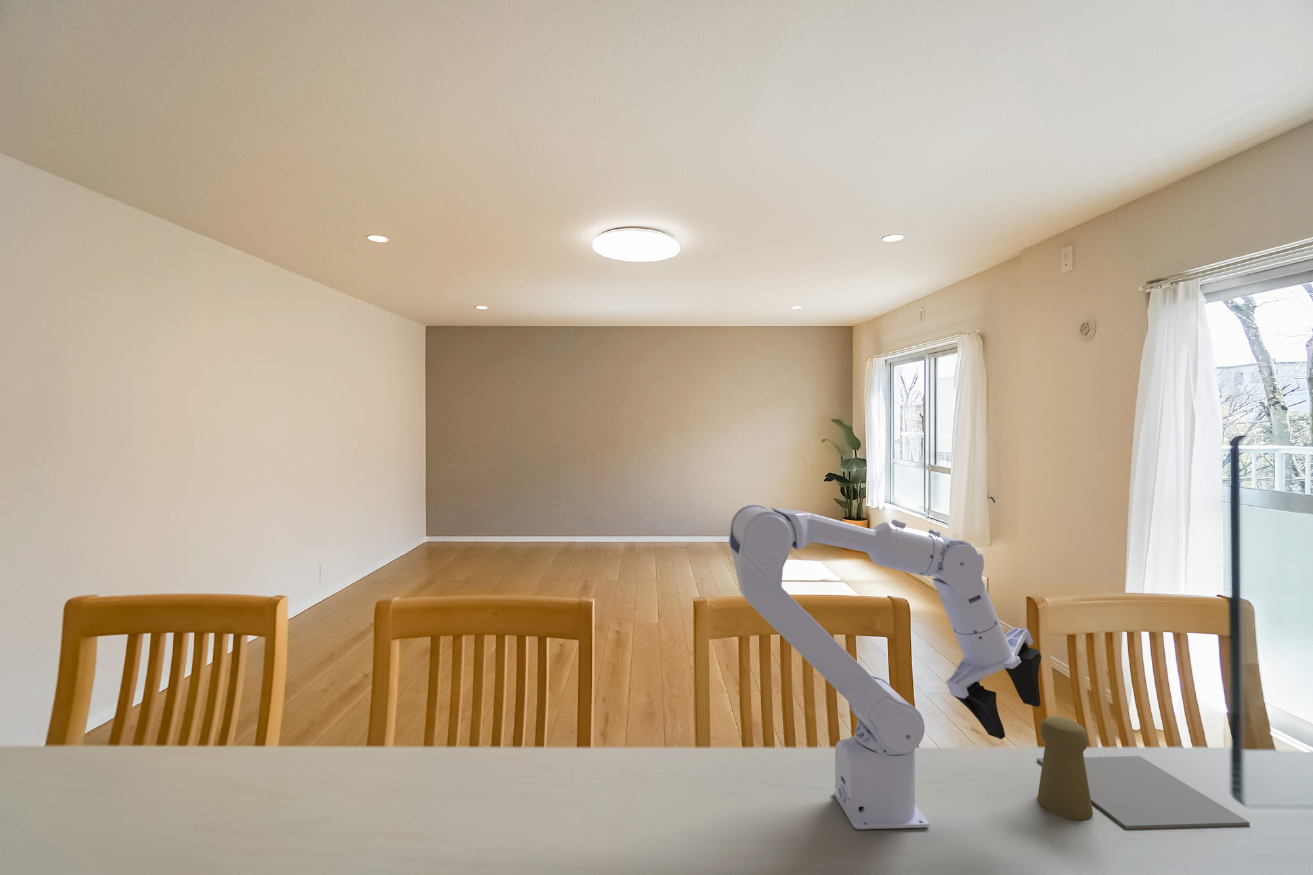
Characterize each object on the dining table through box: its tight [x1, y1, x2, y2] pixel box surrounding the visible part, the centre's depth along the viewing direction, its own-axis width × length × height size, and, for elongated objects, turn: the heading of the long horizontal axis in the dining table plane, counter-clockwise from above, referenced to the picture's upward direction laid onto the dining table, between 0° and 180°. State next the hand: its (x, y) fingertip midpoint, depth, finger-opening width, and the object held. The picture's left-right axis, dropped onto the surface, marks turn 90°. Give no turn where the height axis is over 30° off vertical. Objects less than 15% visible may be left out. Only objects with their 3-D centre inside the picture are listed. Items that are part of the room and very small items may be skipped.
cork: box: [1037, 716, 1094, 821], centre depth 78 cm, size 6×6×11 cm
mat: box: [1036, 755, 1251, 830], centre depth 82 cm, size 16×16×1 cm
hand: (1014, 719), depth 78 cm, fingers open, 7 cm apart
